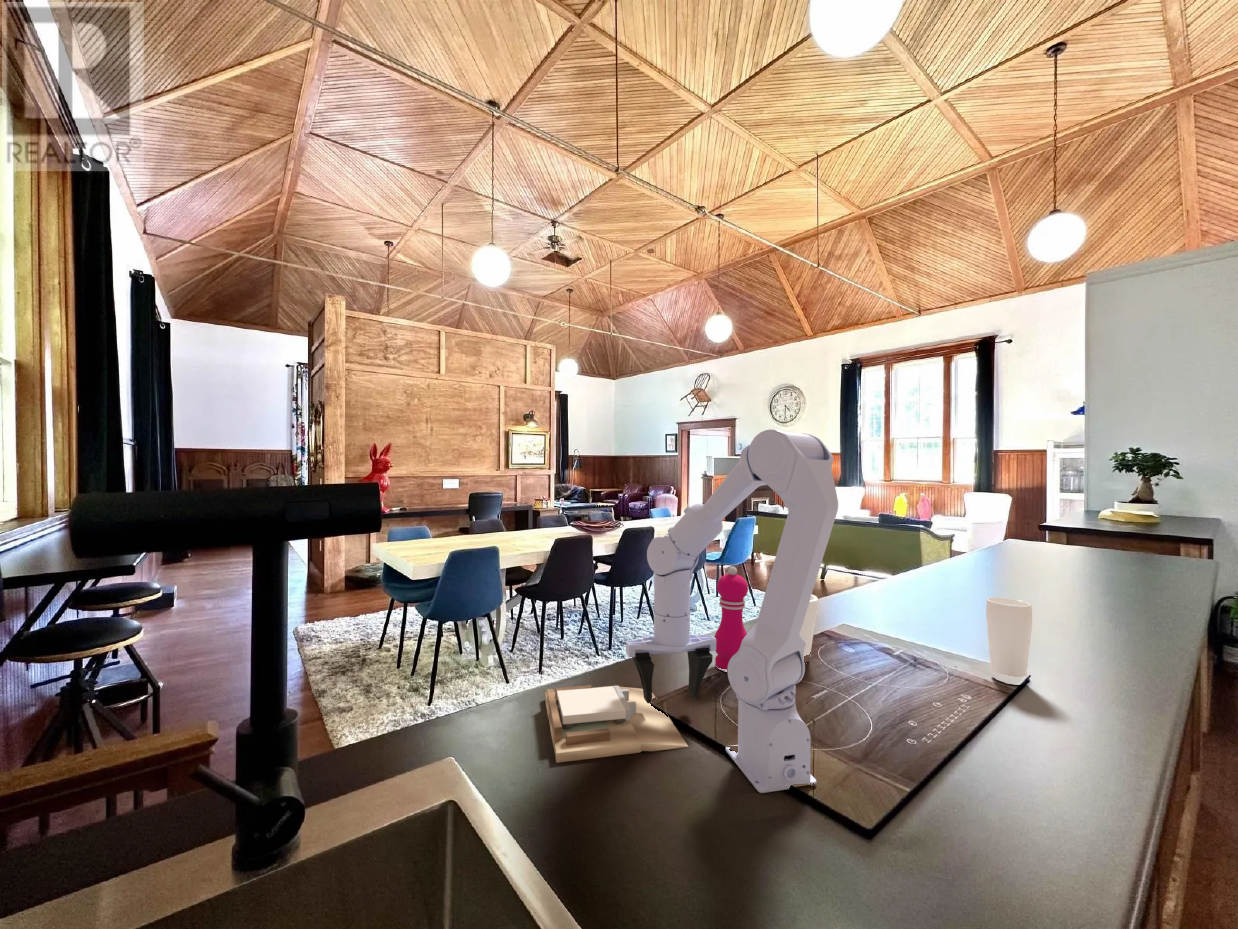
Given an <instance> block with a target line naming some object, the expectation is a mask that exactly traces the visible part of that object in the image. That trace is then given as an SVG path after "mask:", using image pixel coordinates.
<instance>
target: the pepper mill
mask: <svg viewBox="0 0 1238 929" xmlns="http://www.w3.org/2000/svg"><path fill="white" fill-rule="evenodd" d="M727 572H728V573H727V574H723V575H722V576H721V577H720V578H719V579H718V581H717V583H716V591H717V592H718V594H719V596H720V598H719V603H718V604H719V606H720V607H721V619H720V623H719V626H718V628H717V630H716V632H715V633H714V636H713V637H714V638H716V651H714V652H715V653H716V654H717V655H716V656H715V658H714V659H715V664H714V665H716V666H717V667H718V668H721V669H728V664H729V661H730V659H731V658H732V656H734V655H735V654H736V653H737V652H738V651H739V649H740V646H741V643H742V640H743V639H744V637H745V636H746V635H747V634H748V632H747V631H746V627H745V625H744V621H743V610H744V609H745V607H746V604H745V603H746V600H745V599H744V598H745V597H746V596H747V595H748V592H749V584H748V582H747V580H746V579H745V578H744V577H743V576H741V575H739V574H737V573H738V569H737V568H736V567H735V566H730V567H729V568H728V570H727Z"/></svg>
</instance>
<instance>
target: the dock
mask: <svg viewBox="0 0 1238 929" xmlns="http://www.w3.org/2000/svg"><path fill="white" fill-rule="evenodd" d="M613 686H614V685H610V686H609V685H608V686H607V687H613ZM600 687H601V686H598V687H595V688H600ZM619 687H620V689H628V690H629V701H627V702H636V715H631V720H627V721H625V720H624V722H623V723H621V724H616V723H615V722H614V721H613V720H604V721H594V722H583V723H574V725H573V726H572V727H571V728H569V729H565V728H563V727H562V725H561V714H560V710H559V707H558V706H557V703H556V700H557V691H561V690H574V689H587V688H593V687H592V684H585V685H575V686H565V687H555V690H554V688H548V689H546V692H544V701H545V708H546V713H547V718H548V723H549V729H550V730H549V731H550V735H551V741H552V746H553V750H554V751H553V752H554V757H555V763H556V764H558V763H564V762H566V763H567V762H573V761H583V760H590V759H597V758H599V759H600V758H606V757H614V756H621V755H629V754H630V755H631V754H638V753H641V752H659V751H664V750H674V749H682V748H688V747H689V745H688V744H687V742H686V741H685V738H684V737H682V734H681V733H680V731H679V730H678V729H677V727H676V726H675V725H674V722H673V721H672V719H671V718H670V717H669V716H668V717H667V716H666V715H665V714H664V713H662V712H661V711H658V710H657V709H655V708H654V707H653V706H651V704H650V703H647V702H646V700H645V699H644V694H643V688H638V687H629V686H628V687H626V686H619ZM655 697H656V695H655V694H654V693H653V692H652V699H653V698H655Z"/></svg>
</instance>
